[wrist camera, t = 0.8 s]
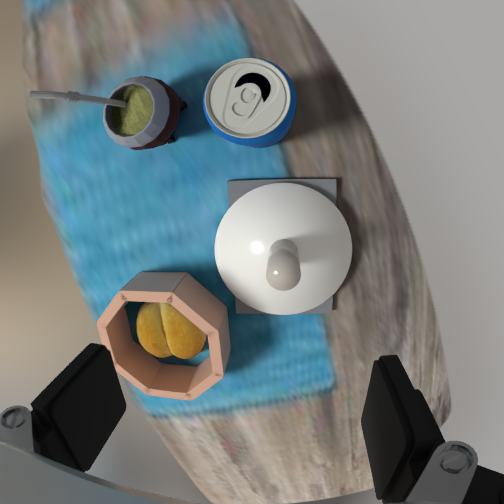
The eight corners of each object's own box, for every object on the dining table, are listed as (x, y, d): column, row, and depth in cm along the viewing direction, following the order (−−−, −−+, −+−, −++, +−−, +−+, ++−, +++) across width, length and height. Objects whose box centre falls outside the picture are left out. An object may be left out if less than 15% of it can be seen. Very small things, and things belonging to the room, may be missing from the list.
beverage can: (303, 106, 29) (315, 80, 18) (272, 159, 31) (266, 162, 20) (247, 77, 29) (228, 38, 17) (217, 129, 31) (181, 118, 19)
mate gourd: (202, 130, 31) (142, 117, 17) (140, 163, 33) (54, 177, 18) (176, 72, 29) (106, 28, 15) (116, 107, 31) (27, 93, 17)
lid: (211, 184, 32) (193, 193, 26) (352, 182, 31) (369, 190, 24) (221, 311, 36) (209, 343, 30) (346, 310, 35) (357, 342, 28)
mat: (228, 180, 32) (227, 181, 32) (335, 178, 31) (336, 179, 31) (236, 311, 37) (236, 313, 36) (330, 310, 36) (331, 312, 35)
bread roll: (211, 352, 39) (204, 371, 36) (148, 348, 40) (137, 365, 37) (204, 295, 37) (195, 312, 33) (136, 294, 38) (122, 308, 34)
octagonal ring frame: (110, 271, 37) (87, 288, 32) (224, 272, 36) (214, 293, 30) (133, 366, 41) (118, 389, 36) (233, 375, 40) (227, 403, 35)
